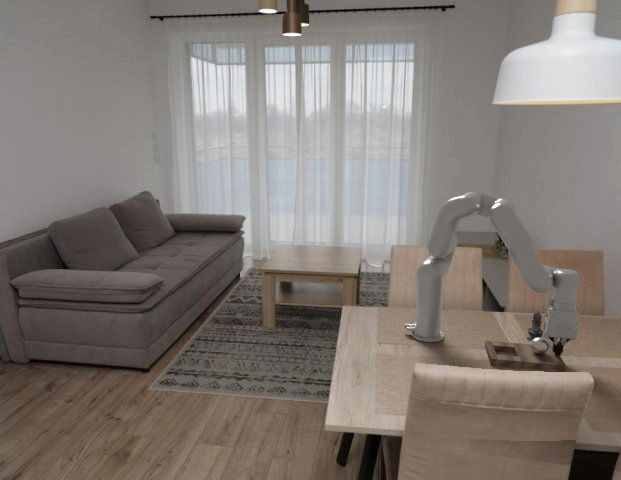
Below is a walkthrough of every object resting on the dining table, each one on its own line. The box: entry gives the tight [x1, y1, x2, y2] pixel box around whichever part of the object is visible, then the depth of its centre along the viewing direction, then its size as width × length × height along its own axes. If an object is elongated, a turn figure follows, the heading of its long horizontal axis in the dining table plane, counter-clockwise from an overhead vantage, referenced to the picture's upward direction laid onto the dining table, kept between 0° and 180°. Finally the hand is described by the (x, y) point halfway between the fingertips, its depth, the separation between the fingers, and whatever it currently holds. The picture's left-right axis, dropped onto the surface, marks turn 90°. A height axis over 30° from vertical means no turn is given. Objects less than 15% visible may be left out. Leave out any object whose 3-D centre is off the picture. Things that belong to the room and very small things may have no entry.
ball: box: [529, 337, 550, 354], centre depth 173 cm, size 6×6×6 cm
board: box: [484, 340, 567, 372], centre depth 175 cm, size 24×15×2 cm, turn 78°
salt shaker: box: [527, 310, 544, 342], centre depth 190 cm, size 6×6×12 cm
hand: (557, 353), depth 173 cm, fingers closed
